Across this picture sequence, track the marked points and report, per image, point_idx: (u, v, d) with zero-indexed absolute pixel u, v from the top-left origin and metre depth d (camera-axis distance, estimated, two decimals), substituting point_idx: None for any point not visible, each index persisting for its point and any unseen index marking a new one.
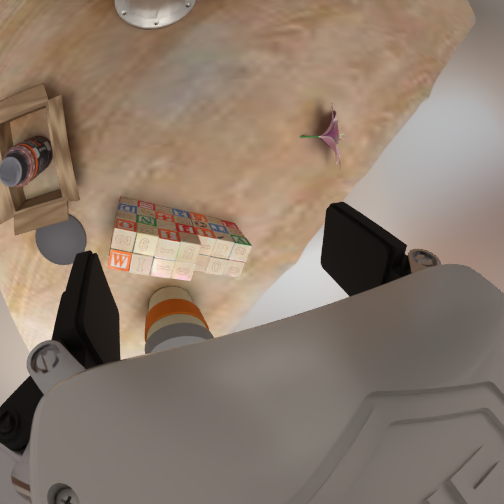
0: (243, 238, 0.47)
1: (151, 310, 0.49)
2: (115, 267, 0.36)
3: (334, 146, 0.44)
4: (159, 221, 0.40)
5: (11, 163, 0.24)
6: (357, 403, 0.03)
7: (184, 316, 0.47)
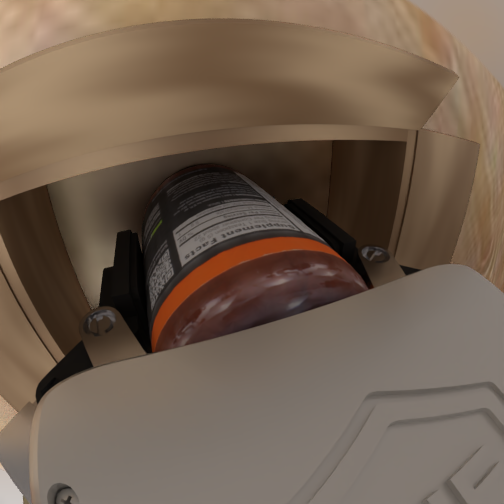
0: None
1: None
2: None
3: None
4: None
5: None
6: (357, 403, 0.03)
7: None
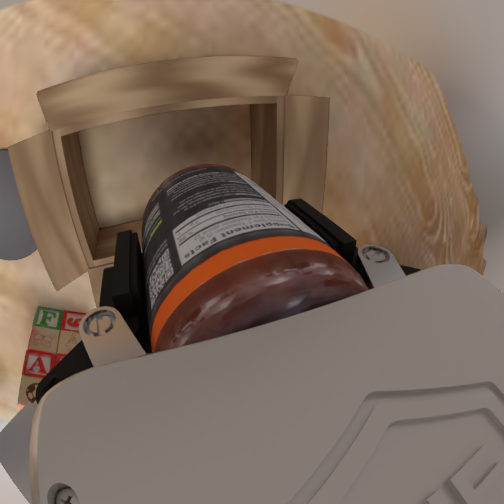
0: None
1: None
2: None
3: None
4: None
5: None
6: (357, 403, 0.03)
7: None
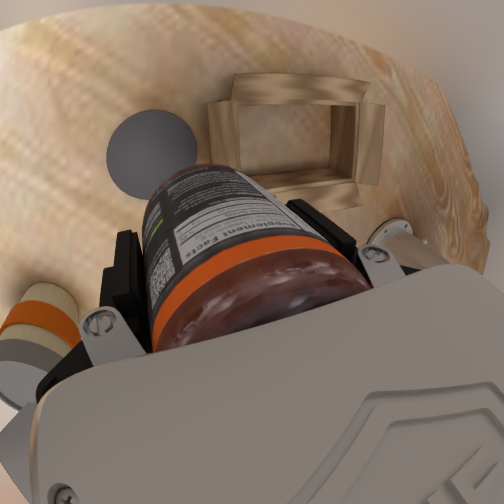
0: None
1: (57, 311, 0.27)
2: None
3: None
4: None
5: None
6: (357, 403, 0.03)
7: None
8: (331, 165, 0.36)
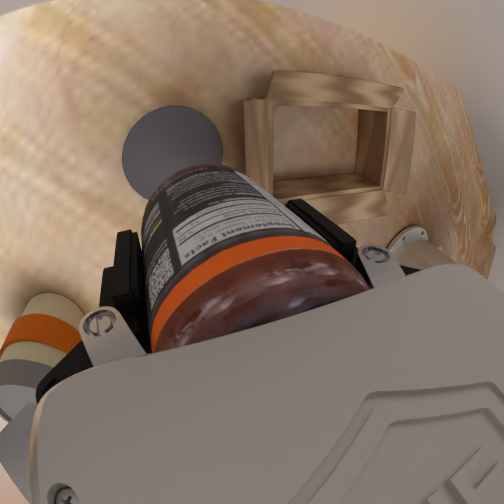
0: None
1: (66, 326, 0.25)
2: None
3: None
4: None
5: None
6: (357, 403, 0.03)
7: None
8: (356, 171, 0.35)
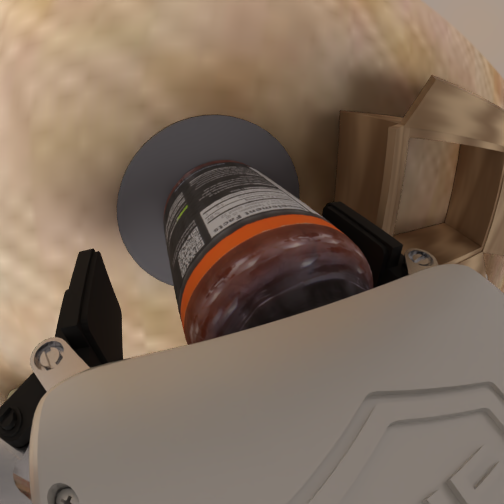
0: None
1: None
2: None
3: None
4: None
5: None
6: (357, 403, 0.03)
7: None
8: (448, 221, 0.23)
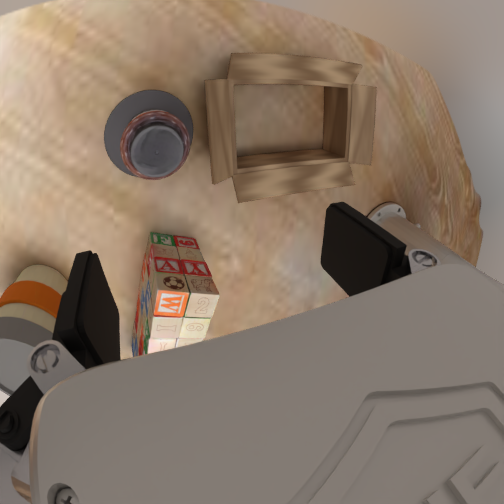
0: None
1: (51, 291, 0.27)
2: (159, 300, 0.26)
3: None
4: None
5: (170, 157, 0.20)
6: (357, 403, 0.03)
7: None
8: (324, 147, 0.37)
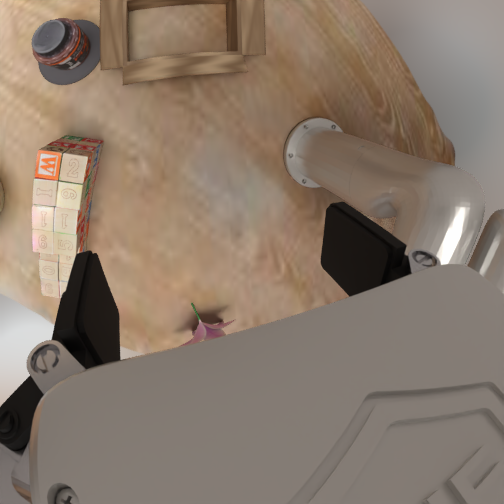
0: None
1: None
2: (39, 160, 0.23)
3: (200, 338, 0.50)
4: (86, 198, 0.31)
5: (55, 37, 0.17)
6: (357, 403, 0.03)
7: None
8: None
